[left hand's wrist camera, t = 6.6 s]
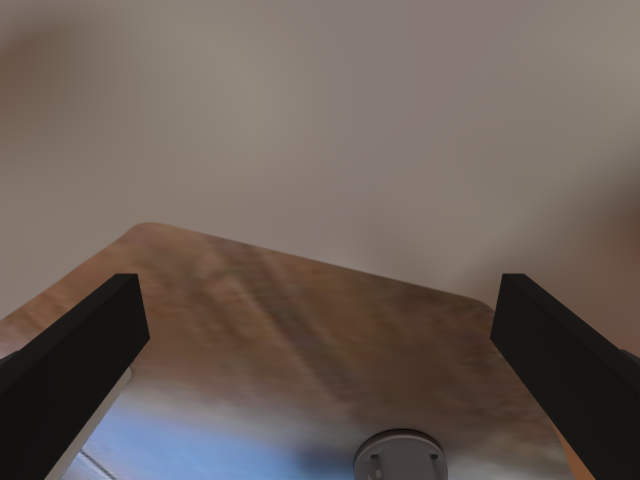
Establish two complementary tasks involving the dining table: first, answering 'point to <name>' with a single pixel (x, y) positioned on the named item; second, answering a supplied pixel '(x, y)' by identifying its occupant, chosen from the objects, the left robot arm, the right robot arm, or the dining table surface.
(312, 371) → the dining table surface
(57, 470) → the bottle
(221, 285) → the dining table surface
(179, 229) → the dining table surface
